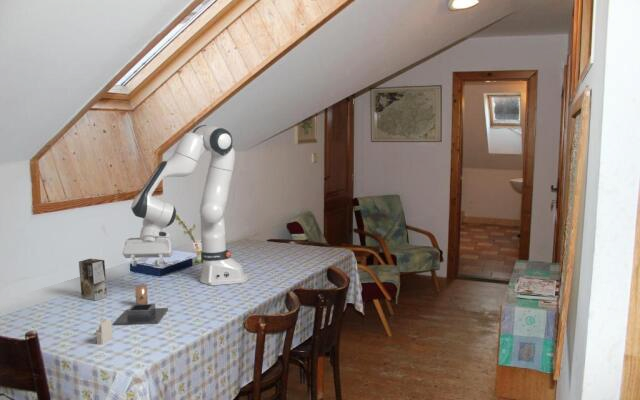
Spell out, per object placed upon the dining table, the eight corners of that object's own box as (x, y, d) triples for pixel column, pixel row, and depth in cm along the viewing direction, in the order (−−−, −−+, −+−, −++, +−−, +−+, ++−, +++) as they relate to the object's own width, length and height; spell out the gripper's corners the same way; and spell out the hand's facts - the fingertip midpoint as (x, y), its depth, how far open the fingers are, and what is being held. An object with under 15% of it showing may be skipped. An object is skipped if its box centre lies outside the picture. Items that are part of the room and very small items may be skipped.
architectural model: (93, 345, 185) (91, 323, 184) (105, 337, 192) (104, 316, 191) (102, 346, 184) (100, 324, 184) (114, 338, 191) (113, 317, 190)
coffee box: (107, 297, 239) (105, 259, 238) (95, 301, 234) (92, 263, 232) (93, 294, 244) (91, 257, 242) (80, 298, 239) (78, 261, 237)
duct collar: (168, 309, 219) (167, 300, 219) (158, 323, 203) (157, 313, 203) (126, 311, 219) (126, 301, 218) (113, 325, 203) (112, 315, 203)
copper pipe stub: (149, 303, 228) (147, 284, 227) (146, 307, 224) (145, 287, 223) (138, 304, 228) (137, 284, 227) (135, 307, 224) (133, 287, 223)
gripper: (124, 234, 239) (118, 261, 230) (172, 233, 240) (168, 260, 231) (127, 242, 244) (122, 269, 235) (175, 241, 244) (171, 268, 236)
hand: (145, 265), depth 233 cm, fingers open, 8 cm apart
